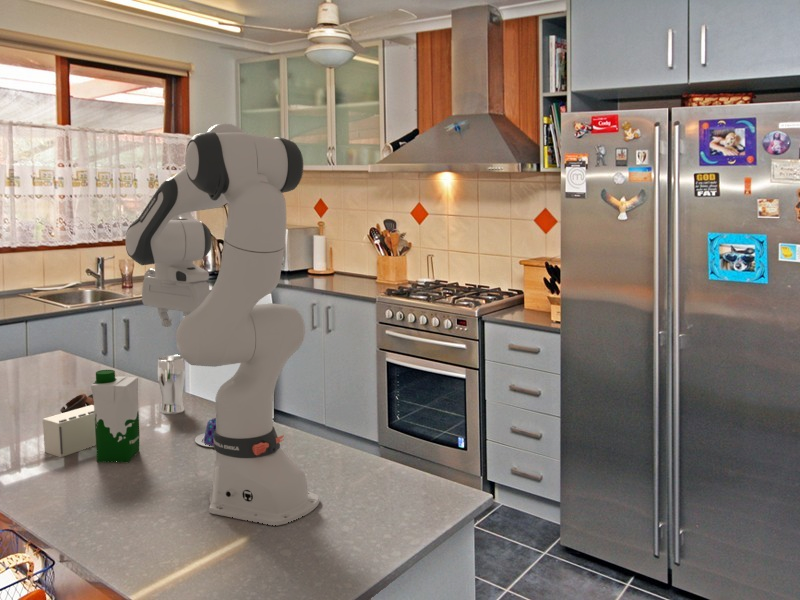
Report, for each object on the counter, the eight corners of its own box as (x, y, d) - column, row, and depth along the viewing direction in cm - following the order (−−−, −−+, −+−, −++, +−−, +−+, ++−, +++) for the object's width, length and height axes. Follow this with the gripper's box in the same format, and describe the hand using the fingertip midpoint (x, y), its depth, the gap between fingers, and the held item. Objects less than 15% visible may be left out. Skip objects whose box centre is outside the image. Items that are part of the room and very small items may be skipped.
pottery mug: (98, 429, 189) (78, 404, 187) (69, 442, 192) (49, 417, 189) (117, 404, 200) (99, 380, 198) (90, 416, 203) (71, 393, 200)
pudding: (201, 453, 174) (201, 431, 173) (190, 437, 184) (189, 416, 184) (251, 445, 180) (251, 424, 179) (237, 430, 190) (237, 410, 189)
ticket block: (110, 441, 180) (108, 408, 178) (61, 457, 169) (59, 422, 167) (93, 436, 183) (91, 403, 182) (44, 451, 172) (42, 417, 171)
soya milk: (106, 449, 174) (102, 366, 171) (145, 450, 174) (141, 367, 171) (91, 463, 166) (86, 376, 162) (131, 464, 166) (127, 377, 162)
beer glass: (154, 414, 201) (152, 360, 198) (166, 406, 207) (164, 354, 205) (178, 415, 199) (176, 361, 197) (190, 408, 206) (188, 355, 204)
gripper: (134, 269, 181) (136, 324, 183) (194, 276, 171) (195, 335, 173) (155, 266, 186) (157, 320, 189) (214, 273, 176) (215, 330, 178)
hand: (175, 327), depth 181 cm, fingers open, 5 cm apart
